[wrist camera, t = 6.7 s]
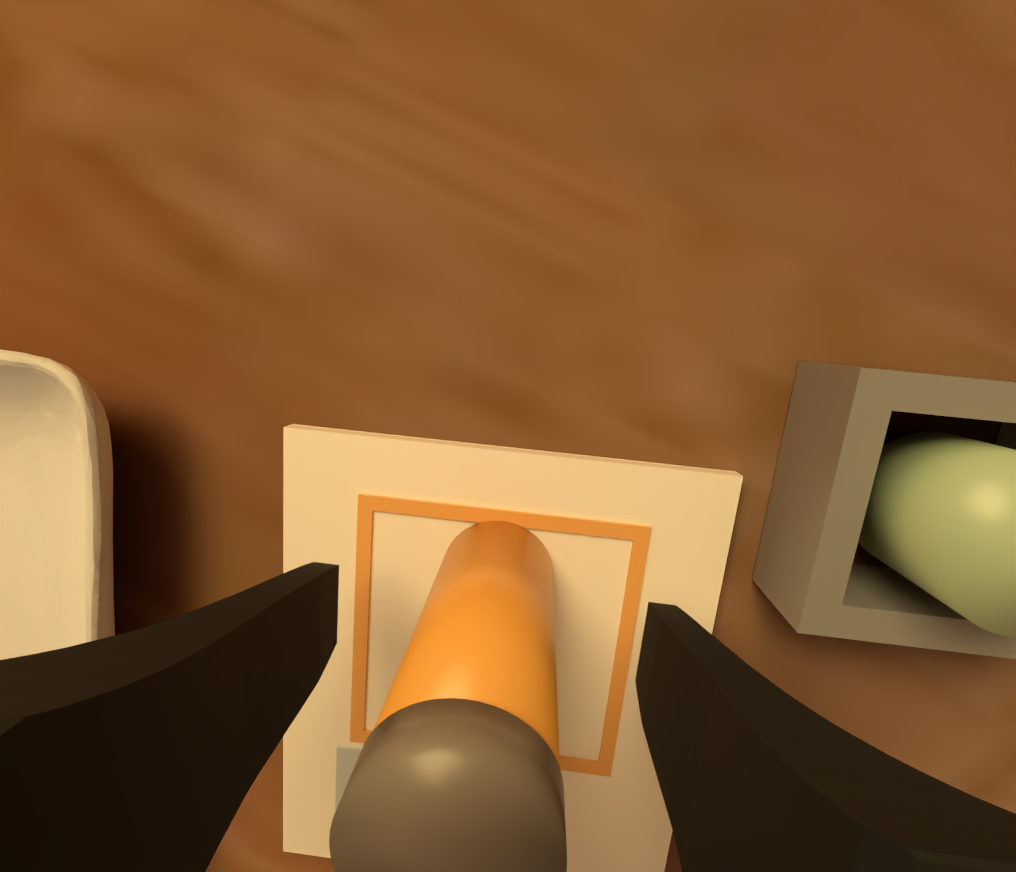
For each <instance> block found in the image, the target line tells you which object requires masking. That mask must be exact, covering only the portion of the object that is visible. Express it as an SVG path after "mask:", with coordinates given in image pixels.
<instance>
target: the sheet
mask: <svg viewBox="0 0 1016 872" xmlns="http://www.w3.org/2000/svg"><path fill="white" fill-rule="evenodd" d="M742 481H743V476H742V475H740V474H739V473H737V472H736V471H728V470H719V469H709V468H700V467H691V466H681V465H672V464H663V463H653V462H644V461H635V460H625V459H616V458H607V457H597V456H588V455H579V454H569V453H560V452H551V451H541V450H532V449H522V448H513V447H504V446H494V445H485V444H476V443H466V442H457V441H448V440H438V439H429V438H420V437H410V436H401V435H392V434H382V433H373V432H364V431H354V430H345V429H336V428H326V427H317V426H308V425H298V424H291V425H288V426H286V427H284V543H283V573H286V572H288V571H290V570H293V569H295V568H298V567H300V566H303V565H306V564H309V563H312V562H319V563H327V564H335V565H339V587H338V625H337V644H336V646H335V648H334V651H333V653H332V655H331V657H330V659H329V661H328V664H327V666H326V668H325V670H324V672H323V674H322V676H321V678H320V680H319V682H318V683H317V685H316V687H315V688H314V690H313V691H312V693H311V694H310V696H309V698H308V699H307V701H306V702H305V704H304V705H303V707H302V708H301V710H300V711H299V713H298V714H297V716H296V718H295V719H294V721H293V722H292V724H291V725H290V727H289V728H288V730H287V731H286V733H285V734H284V736H283V851H285V852H292V853H299V854H306V855H313V856H319V857H326V858H331V855H330V847H329V836H330V828H331V824H332V820H333V817H334V814H335V812H336V810H337V807H338V805H339V802H340V800H341V798H342V795H343V793H344V790H345V788H346V786H347V783H348V781H349V778H350V776H351V774H352V771H353V769H354V766H355V764H356V762H357V759H358V757H359V755H360V752H361V750H362V748H363V745H364V743H365V741H366V740H367V738H368V737H369V735H370V734H371V732H372V731H373V729H374V727H375V724H376V722H377V720H378V717H379V715H380V712H381V710H382V707H383V705H384V702H385V700H386V698H387V695H388V693H389V690H390V688H391V685H392V683H393V680H394V678H395V676H396V673H397V671H398V668H399V666H400V663H401V661H402V658H403V656H404V654H405V651H406V649H407V646H408V644H409V641H410V639H411V636H412V634H413V632H414V629H415V627H416V624H417V622H418V619H419V617H420V615H421V612H422V610H423V607H424V605H425V602H426V600H427V597H428V595H429V593H430V590H431V588H432V585H433V583H434V580H435V578H436V575H437V573H438V571H439V568H440V566H441V563H442V561H443V558H444V556H445V553H446V551H447V549H448V547H449V545H450V544H451V542H452V541H453V540H454V538H455V537H456V536H457V535H458V534H459V533H461V532H462V531H463V530H465V529H466V528H468V527H470V526H472V525H475V524H477V523H481V522H485V521H505V522H510V523H514V524H517V525H519V526H521V527H524V528H525V529H527V530H529V531H530V532H531V533H533V534H534V535H535V536H536V537H537V538H538V539H539V540H540V541H541V542H542V544H543V545H544V546H545V548H546V550H547V551H548V554H549V556H550V559H551V563H552V570H553V594H554V622H555V649H556V677H557V704H558V732H559V760H560V770H561V773H562V777H563V785H564V800H565V823H566V846H567V872H664V871H665V866H666V861H667V856H668V851H669V846H670V841H671V836H672V831H673V829H672V826H671V823H670V819H669V816H668V812H667V809H666V806H665V802H664V799H663V795H662V792H661V789H660V785H659V782H658V778H657V775H656V772H655V768H654V765H653V761H652V758H651V754H650V751H649V747H648V744H647V740H646V737H645V733H644V730H643V726H642V721H641V715H640V709H639V703H638V696H637V690H636V683H635V679H636V673H637V667H638V661H639V655H640V649H641V643H642V637H643V631H644V625H645V619H646V614H647V608H648V602H653V603H662V604H670V605H676V606H678V607H679V608H680V609H682V610H683V611H684V612H686V613H687V614H688V615H689V616H690V617H692V618H693V619H694V620H695V621H696V622H698V623H699V624H700V625H701V626H702V627H703V628H705V629H706V630H707V631H708V632H709V633H711V634H712V631H713V626H714V621H715V616H716V611H717V606H718V601H719V596H720V591H721V586H722V581H723V576H724V571H725V566H726V561H727V556H728V551H729V546H730V541H731V536H732V531H733V526H734V521H735V516H736V511H737V506H738V501H739V496H740V491H741V486H742Z"/></svg>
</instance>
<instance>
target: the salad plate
mask: <svg viewBox="0 0 1016 872" xmlns="http://www.w3.org/2000/svg"><path fill="white" fill-rule="evenodd" d="M111 636H115V621H114V584H113V460H112V444H111V436H110V428H109V423H108V420H107V416H106V413H105V410H104V407H103V406H102V404H101V402H100V400H99V398H98V397H97V395H96V393H95V392H94V391H93V390H92V388H91V387H90V386H89V385H88V383H87V382H86V381H85V380H84V379H83V378H82V377H81V376H80V375H78V374H77V373H76V372H74V371H73V370H72V369H71V368H69V367H68V366H66V365H63V364H61V363H59V362H56V361H54V360H52V359H49V358H44V357H40V356H36V355H31V354H27V353H22V352H15V351H7V350H0V660H3V659H9V658H15V657H20V656H26V655H31V654H36V653H41V652H46V651H51V650H56V649H61V648H66V647H70V646H74V645H78V644H82V643H86V642H90V641H94V640H98V639H102V638H107V637H111Z"/></svg>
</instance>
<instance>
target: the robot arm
mask: <svg viewBox="0 0 1016 872" xmlns="http://www.w3.org/2000/svg"><path fill="white" fill-rule="evenodd" d="M338 587H339V565H335V564H327V563H319V562H312V563H309V564H306V565H303V566H300V567H298V568H295V569H293V570H290V571H288V572H286V573H283V574H281V575H279V576H276V577H274V578H272V579H270V580H267V581H265V582H263V583H260V584H258V585H256V586H254V587H251V588H249V589H247V590H244V591H242V592H240V593H237V594H235V595H232V596H230V597H227V598H225V599H222V600H220V601H217V602H215V603H212V604H210V605H207V606H205V607H202V608H200V609H197V610H194V611H192V612H189V613H186V614H184V615H181V616H178V617H175V618H172V619H169V620H166V621H163V622H160V623H156V624H153V625H150V626H147V627H143V628H140V629H137V630H133V631H130V632H126V633H123V634H119V635H115V636H111V637H107V638H102V639H98V640H94V641H90V642H86V643H82V644H78V645H74V646H70V647H66V648H61V649H56V650H51V651H46V652H41V653H36V654H31V655H26V656H20V657H15V658H9V659H3V660H0V872H205V871H206V869H207V867H208V865H209V863H210V861H211V859H212V857H213V855H214V854H215V852H216V850H217V848H218V846H219V844H220V842H221V840H222V838H223V836H224V835H225V833H226V831H227V829H228V827H229V825H230V823H231V821H232V820H233V818H234V816H235V814H236V812H237V810H238V808H239V806H240V805H241V803H242V801H243V799H244V797H245V795H246V794H247V792H248V790H249V789H250V787H251V785H252V784H253V782H254V780H255V779H256V777H257V775H258V774H259V772H260V771H261V769H262V768H263V766H264V765H265V763H266V762H267V760H268V759H269V757H270V755H271V754H272V752H273V751H274V749H275V748H276V746H277V745H278V743H279V742H280V740H281V739H282V737H283V736H284V734H285V733H286V731H287V730H288V728H289V727H290V725H291V724H292V722H293V721H294V719H295V718H296V716H297V714H298V713H299V711H300V710H301V708H302V707H303V705H304V704H305V702H306V701H307V699H308V698H309V696H310V694H311V693H312V691H313V690H314V688H315V687H316V685H317V683H318V682H319V680H320V678H321V676H322V674H323V672H324V670H325V668H326V666H327V664H328V661H329V659H330V657H331V655H332V653H333V651H334V648H335V646H336V644H337V625H338ZM635 683H636V690H637V696H638V703H639V709H640V715H641V721H642V726H643V730H644V733H645V737H646V740H647V744H648V747H649V751H650V754H651V758H652V761H653V765H654V768H655V772H656V775H657V778H658V782H659V785H660V789H661V792H662V795H663V799H664V802H665V806H666V809H667V812H668V816H669V819H670V823H671V826H672V829H673V833H674V837H675V841H676V845H677V849H678V853H679V857H680V862H681V867H682V872H1016V814H1014V813H1012V812H1010V811H1007V810H1005V809H1002V808H1000V807H998V806H995V805H993V804H990V803H988V802H985V801H983V800H981V799H978V798H976V797H974V796H972V795H969V794H967V793H965V792H963V791H961V790H959V789H956V788H954V787H952V786H950V785H948V784H946V783H944V782H942V781H940V780H937V779H935V778H933V777H931V776H929V775H927V774H925V773H923V772H921V771H919V770H917V769H915V768H913V767H911V766H909V765H907V764H905V763H903V762H901V761H899V760H897V759H895V758H893V757H891V756H889V755H887V754H886V753H884V752H882V751H880V750H878V749H877V748H875V747H873V746H871V745H869V744H868V743H866V742H864V741H862V740H860V739H859V738H857V737H855V736H853V735H851V734H850V733H848V732H846V731H845V730H843V729H841V728H840V727H838V726H836V725H835V724H833V723H831V722H830V721H828V720H826V719H825V718H823V717H822V716H820V715H819V714H817V713H816V712H814V711H812V710H811V709H809V708H808V707H806V706H805V705H803V704H802V703H800V702H799V701H797V700H796V699H794V698H793V697H791V696H790V695H788V694H787V693H785V692H784V691H783V690H781V689H780V688H778V687H777V686H776V685H774V684H773V683H772V682H770V681H769V680H768V679H766V678H765V677H764V676H762V675H761V674H760V673H758V672H757V671H756V670H754V669H753V668H752V667H751V666H749V665H748V664H747V663H745V662H744V661H743V660H742V659H740V658H739V657H738V656H737V655H736V654H734V653H733V652H732V651H731V650H729V649H728V648H727V647H726V646H725V645H723V644H722V643H721V642H720V641H719V640H718V639H716V638H715V637H714V636H713V635H712V634H711V633H709V632H708V631H707V630H706V629H705V628H703V627H702V626H701V625H700V624H699V623H698V622H696V621H695V620H694V619H693V618H692V617H690V616H689V615H688V614H687V613H686V612H684V611H683V610H682V609H680V608H679V607H678V606H676V605H670V604H662V603H653V602H648V608H647V614H646V619H645V625H644V631H643V637H642V643H641V649H640V655H639V661H638V667H637V673H636V679H635Z"/></svg>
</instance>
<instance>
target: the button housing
mask: <svg viewBox="0 0 1016 872" xmlns="http://www.w3.org/2000/svg"><path fill="white" fill-rule="evenodd" d="M892 411H899V412H909V413H919V414H929V415H939V416H949V417H959V418H969V419H979V420H989V421H999V422H1002V424H1001V427H1000V431H999V434H998V437H997V441H996V444H995V445H998V446H1002V447H1006V448H1010V449H1014V450H1016V382H1013V381H1002V380H992V379H982V378H971V377H961V376H951V375H940V374H930V373H920V372H909V371H899V370H889V369H878V368H868V367H858V366H847V365H837V364H827V363H816V362H806V361H799V362H798V367H797V372H796V377H795V381H794V386H793V391H792V395H791V400H790V405H789V409H788V414H787V419H786V423H785V428H784V433H783V437H782V442H781V447H780V452H779V456H778V461H777V466H776V470H775V475H774V480H773V484H772V489H771V494H770V498H769V503H768V508H767V512H766V517H765V522H764V527H763V531H762V536H761V541H760V545H759V550H758V555H757V559H756V564H755V569H754V573H753V578H752V580H753V581H754V583H755V584H756V585H757V586H758V587H759V588H760V590H761V591H762V592H763V593H764V594H765V595H766V597H767V598H768V599H769V600H770V601H771V602H772V604H773V605H774V606H775V607H776V608H777V609H778V611H779V612H780V613H781V614H782V615H783V617H784V618H785V619H786V620H787V621H788V622H789V624H790V625H791V626H792V627H793V628H794V629H795V631H796V632H797V633H802V634H810V635H818V636H827V637H835V638H843V639H852V640H860V641H868V642H876V643H885V644H893V645H901V646H910V647H918V648H926V649H934V650H943V651H951V652H959V653H968V654H976V655H984V656H992V657H1001V658H1009V659H1016V638H1013V637H1007V636H1001V635H998V634H995V633H992V632H989V631H987V630H985V629H982V628H980V627H979V626H977V625H975V624H974V623H972V622H971V621H969V620H968V619H966V618H965V617H963V616H962V615H960V614H959V613H957V612H956V611H954V610H953V609H951V608H950V607H948V606H947V605H945V604H944V603H942V602H941V601H939V600H938V599H936V598H935V597H933V596H932V595H930V594H929V593H927V592H926V591H925V590H923V589H922V588H920V587H919V586H917V585H916V584H914V583H913V582H911V581H910V580H908V579H907V578H905V577H904V576H902V575H901V574H899V573H898V572H896V571H895V570H893V569H892V568H886V567H877V566H869V565H860V564H853V560H854V556H855V552H856V548H857V544H858V541H859V537H860V533H861V529H862V525H863V521H864V517H865V513H866V509H867V506H868V502H869V498H870V494H871V490H872V486H873V482H874V478H875V474H876V471H877V467H878V463H879V459H880V455H881V451H882V447H883V443H884V439H885V435H886V432H887V428H888V424H889V420H890V416H891V412H892Z"/></svg>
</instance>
